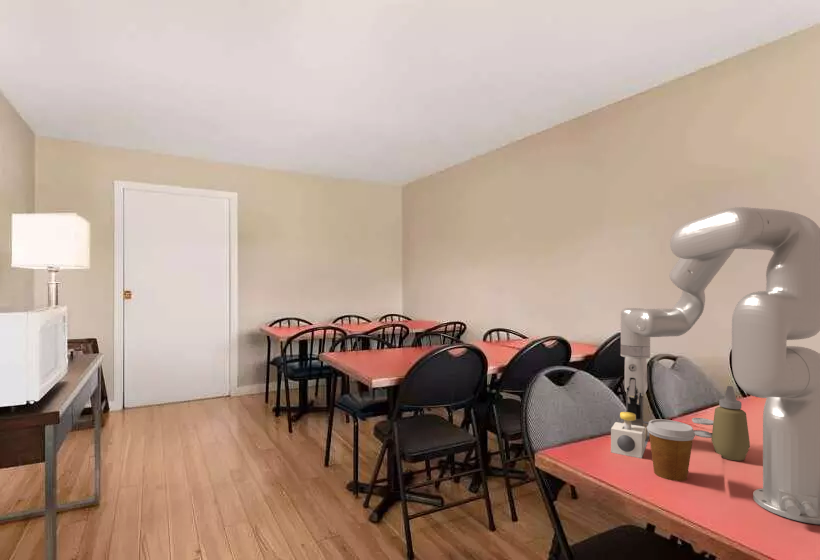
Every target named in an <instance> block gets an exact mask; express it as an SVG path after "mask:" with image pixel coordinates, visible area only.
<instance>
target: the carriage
mask: <svg viewBox="0 0 820 560" xmlns="http://www.w3.org/2000/svg"><path fill="white" fill-rule="evenodd" d="M635 396H636V397H637V395H635ZM625 397H626V399H625V401H626V402H625V405H626V406H625V408H626V409H625V410H626V411H625V412H628V394H626V396H625ZM639 404H640V405H641V407H640V419H636V420H634V421H631V425H637V426H643V427H645V440H646V438H647V435H648V430H647V426H648V424H644V423H643V421H644V396H643V395H642V396H639ZM622 423H624V421H623V422H622Z"/></svg>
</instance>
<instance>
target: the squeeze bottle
mask: <svg viewBox="0 0 820 560" xmlns="http://www.w3.org/2000/svg"><path fill="white" fill-rule="evenodd" d="M718 403H719V404H718V406H717V407H715V408H714V414H713V415H714V416H713V421H714V422H713V425H712V432H711V433H712V438H710V439H711V440H710V441H711V444H712V445H713V448H714V451H715V453H716V454H718V455H720V456H721V458H723V459H726V460H732V461H739V462H740V461H744V460H745V459H746V457H747V454H748V452H749V450H750V447H751V442H750V435H749V434H750V433H749V426H748V419H747V418H748V417H747V412H746V411H744V410H743V409H742V401H740V400H737V397H736V393H735V389H734V386H732V385H727V387H726V390H725V393H724V398H719V401H718Z"/></svg>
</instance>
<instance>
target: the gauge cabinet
mask: <svg viewBox="0 0 820 560" xmlns="http://www.w3.org/2000/svg"><path fill="white" fill-rule="evenodd" d="M645 450H646V448H645V427H643V426H637V425H631V430H627V429H624V423H623V422H617V421H615V422H614V424H613V425H612V426H611V428H610V453H611V452H612V454H616V453H617V454H616V455H621V454H622V456H626V455H627V456H626V457H631V456H632V457H631V458H636V457H637V459H641V458H642V459H643V456H644V454H643V453H645Z"/></svg>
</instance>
